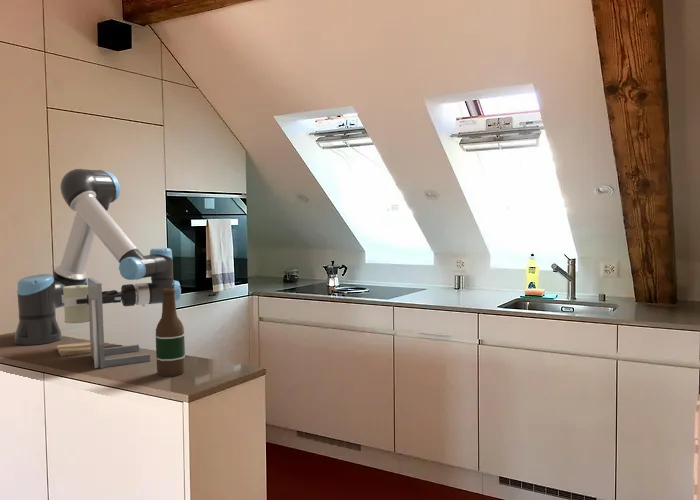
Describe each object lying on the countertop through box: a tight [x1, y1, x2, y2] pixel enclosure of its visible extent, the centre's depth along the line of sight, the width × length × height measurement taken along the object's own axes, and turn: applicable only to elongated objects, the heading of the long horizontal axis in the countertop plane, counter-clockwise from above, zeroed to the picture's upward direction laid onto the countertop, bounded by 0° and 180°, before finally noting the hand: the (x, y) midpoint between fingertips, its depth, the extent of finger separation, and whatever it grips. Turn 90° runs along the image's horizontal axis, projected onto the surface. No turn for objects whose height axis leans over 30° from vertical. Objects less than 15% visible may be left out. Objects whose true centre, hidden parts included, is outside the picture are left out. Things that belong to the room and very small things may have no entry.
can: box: [63, 285, 90, 324], centre depth 206 cm, size 9×9×12 cm
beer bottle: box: [155, 288, 186, 378], centre depth 174 cm, size 8×8×24 cm
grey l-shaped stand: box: [87, 277, 151, 369], centre depth 193 cm, size 20×16×25 cm
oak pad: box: [56, 341, 91, 357], centre depth 207 cm, size 13×13×1 cm
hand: (63, 300), depth 204 cm, fingers closed on can, 9 cm apart
